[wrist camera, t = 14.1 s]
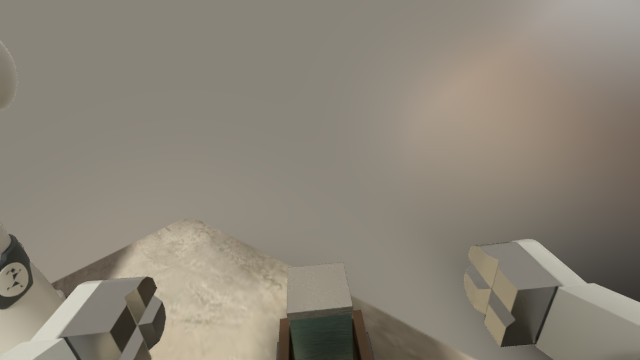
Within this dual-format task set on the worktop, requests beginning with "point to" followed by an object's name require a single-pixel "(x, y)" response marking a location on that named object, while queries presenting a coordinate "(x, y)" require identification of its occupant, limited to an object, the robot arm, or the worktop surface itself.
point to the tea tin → (320, 312)
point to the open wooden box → (359, 338)
